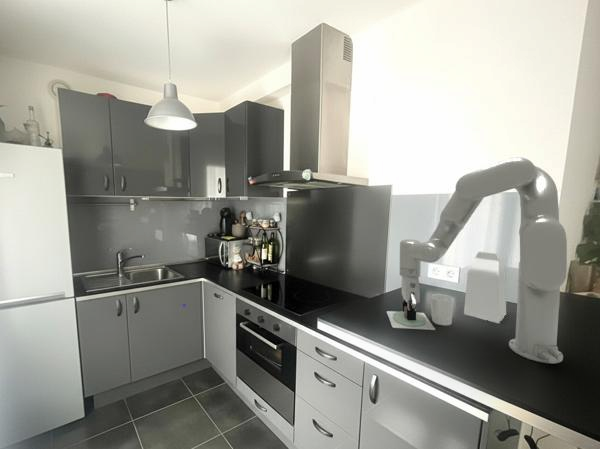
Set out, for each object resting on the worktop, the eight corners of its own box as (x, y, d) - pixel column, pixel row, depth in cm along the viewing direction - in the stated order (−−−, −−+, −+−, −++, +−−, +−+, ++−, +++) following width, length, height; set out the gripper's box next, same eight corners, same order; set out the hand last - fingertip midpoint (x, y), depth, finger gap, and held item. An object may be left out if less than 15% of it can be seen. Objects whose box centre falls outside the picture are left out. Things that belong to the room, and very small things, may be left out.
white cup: (447, 318, 108) (448, 294, 108) (457, 327, 101) (457, 301, 100) (427, 318, 109) (427, 294, 108) (434, 327, 101) (435, 301, 100)
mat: (435, 331, 98) (435, 329, 98) (392, 328, 101) (392, 327, 101) (423, 313, 113) (423, 312, 113) (386, 312, 115) (386, 311, 115)
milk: (463, 314, 112) (465, 252, 110) (472, 306, 120) (474, 248, 117) (498, 323, 103) (501, 256, 101) (506, 314, 111) (509, 252, 108)
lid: (429, 327, 100) (430, 314, 99) (396, 325, 102) (396, 313, 101) (420, 314, 112) (420, 302, 111) (390, 312, 114) (390, 301, 113)
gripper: (426, 278, 96) (425, 326, 97) (414, 266, 113) (413, 307, 115) (404, 277, 97) (403, 325, 99) (395, 266, 114) (395, 306, 116)
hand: (409, 315), depth 107 cm, fingers open, 6 cm apart
